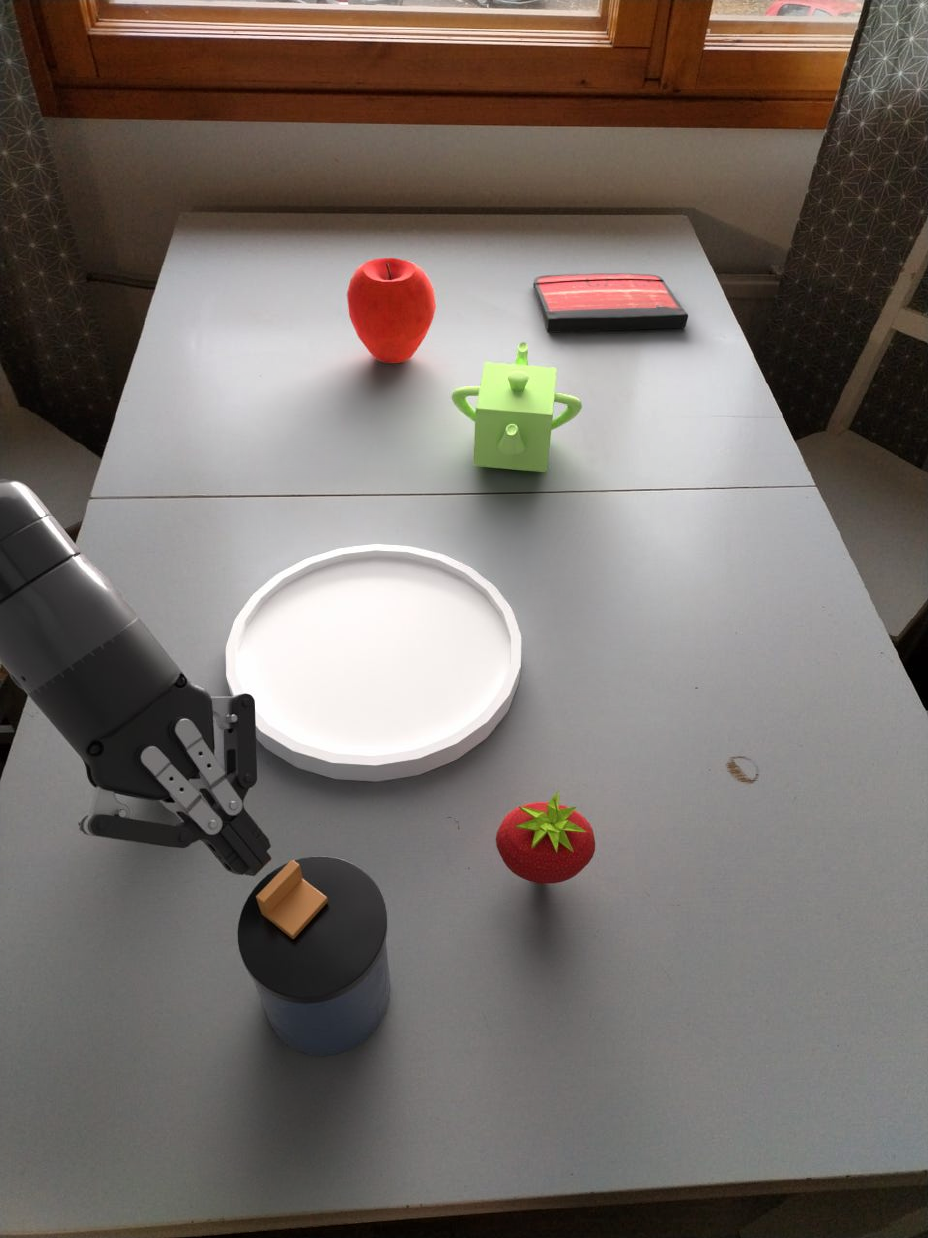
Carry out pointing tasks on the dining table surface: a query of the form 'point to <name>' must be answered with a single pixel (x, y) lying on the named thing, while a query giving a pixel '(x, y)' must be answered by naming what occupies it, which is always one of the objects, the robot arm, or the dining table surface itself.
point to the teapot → (515, 413)
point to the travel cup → (322, 960)
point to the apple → (391, 307)
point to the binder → (607, 302)
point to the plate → (375, 661)
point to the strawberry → (545, 841)
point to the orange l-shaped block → (290, 900)
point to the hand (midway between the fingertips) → (258, 866)
